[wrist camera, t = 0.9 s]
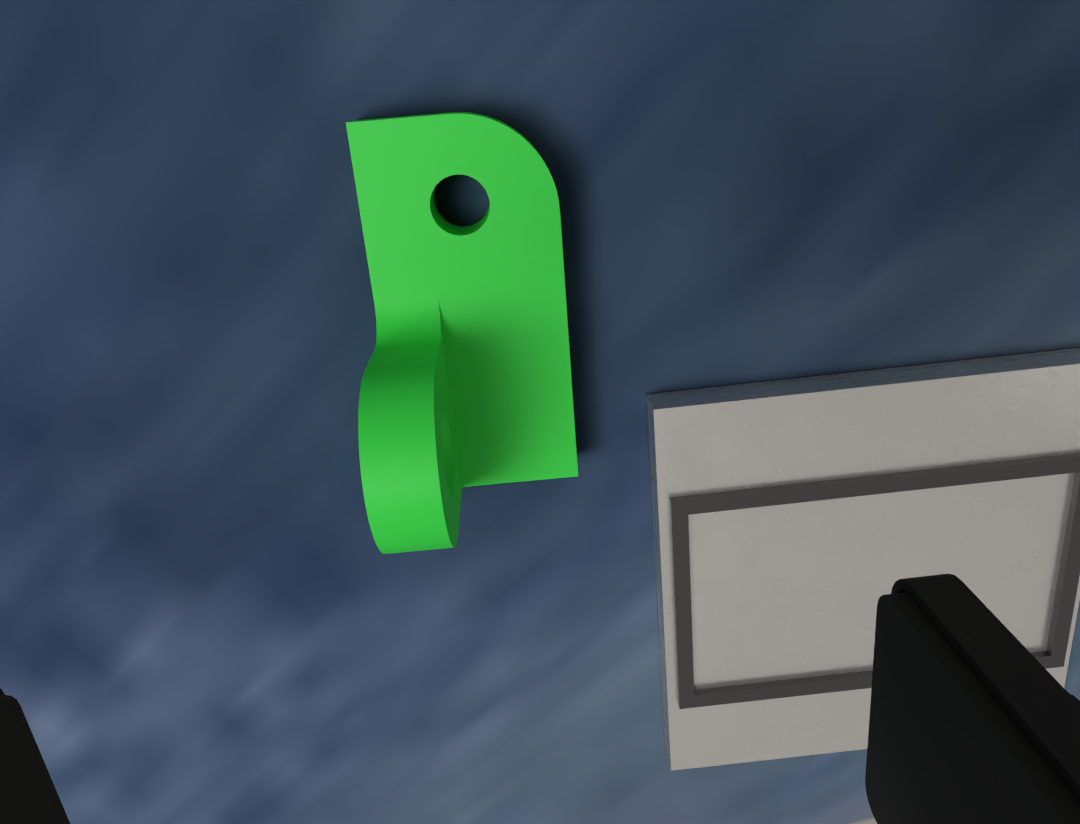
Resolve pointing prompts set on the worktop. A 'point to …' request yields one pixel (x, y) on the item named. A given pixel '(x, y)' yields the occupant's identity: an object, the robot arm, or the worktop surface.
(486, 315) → the mechanical part
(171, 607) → the worktop surface
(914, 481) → the flange
